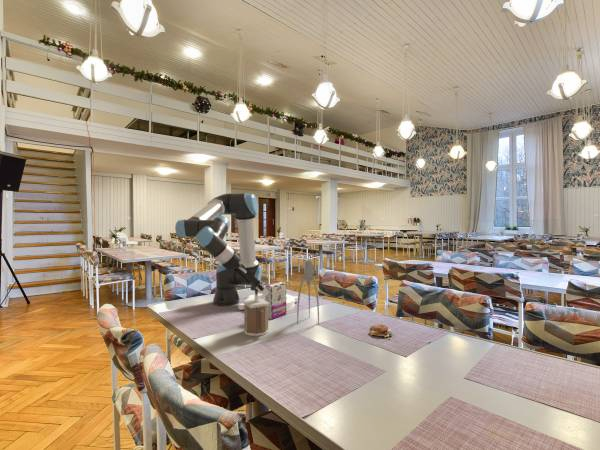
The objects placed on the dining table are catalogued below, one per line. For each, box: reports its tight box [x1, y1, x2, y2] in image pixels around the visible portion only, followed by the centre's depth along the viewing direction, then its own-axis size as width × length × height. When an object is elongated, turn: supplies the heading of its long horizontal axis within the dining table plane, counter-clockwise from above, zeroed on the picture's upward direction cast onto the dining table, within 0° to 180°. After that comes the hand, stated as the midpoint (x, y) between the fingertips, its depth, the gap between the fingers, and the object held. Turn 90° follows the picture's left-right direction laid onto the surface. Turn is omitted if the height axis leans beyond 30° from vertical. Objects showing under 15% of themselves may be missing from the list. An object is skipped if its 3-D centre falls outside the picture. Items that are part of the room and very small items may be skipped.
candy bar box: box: [264, 281, 287, 320], centre depth 157 cm, size 11×5×16 cm, turn 142°
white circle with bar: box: [237, 293, 298, 312], centre depth 176 cm, size 28×28×5 cm
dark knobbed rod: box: [250, 279, 263, 303], centre depth 135 cm, size 5×5×18 cm
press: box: [242, 299, 270, 337], centre depth 134 cm, size 13×10×13 cm
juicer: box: [296, 258, 320, 324], centre depth 151 cm, size 10×9×30 cm
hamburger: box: [368, 323, 393, 338], centre depth 132 cm, size 14×14×6 cm
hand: (264, 292), depth 137 cm, fingers closed on dark knobbed rod, 5 cm apart
